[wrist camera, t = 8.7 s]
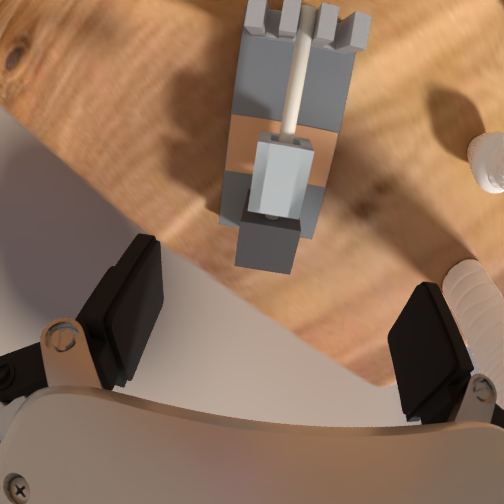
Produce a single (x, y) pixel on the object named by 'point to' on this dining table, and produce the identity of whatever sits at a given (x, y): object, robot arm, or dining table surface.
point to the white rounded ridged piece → (488, 161)
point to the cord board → (286, 115)
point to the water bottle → (479, 318)
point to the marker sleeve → (280, 175)
